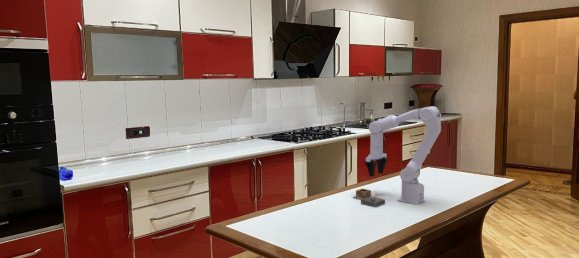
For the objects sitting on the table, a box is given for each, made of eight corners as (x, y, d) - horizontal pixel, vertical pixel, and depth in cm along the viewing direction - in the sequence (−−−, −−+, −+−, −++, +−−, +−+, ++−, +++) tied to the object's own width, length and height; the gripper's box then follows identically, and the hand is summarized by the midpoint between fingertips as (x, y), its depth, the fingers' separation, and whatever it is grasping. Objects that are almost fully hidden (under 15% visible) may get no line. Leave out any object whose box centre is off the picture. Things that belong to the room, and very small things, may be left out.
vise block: (385, 203, 190) (385, 194, 189) (376, 207, 185) (376, 197, 184) (369, 200, 195) (369, 190, 195) (360, 203, 191) (360, 193, 190)
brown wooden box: (371, 196, 200) (371, 190, 199) (364, 198, 196) (364, 192, 196) (362, 194, 203) (362, 188, 203) (355, 196, 200) (355, 190, 199)
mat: (374, 197, 200) (374, 196, 200) (365, 200, 195) (365, 199, 195) (361, 195, 205) (361, 193, 204) (352, 198, 200) (352, 196, 200)
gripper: (377, 143, 209) (377, 171, 211) (360, 147, 199) (360, 176, 201) (390, 145, 205) (390, 173, 206) (373, 148, 194) (372, 178, 196)
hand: (376, 174), depth 203 cm, fingers open, 7 cm apart
